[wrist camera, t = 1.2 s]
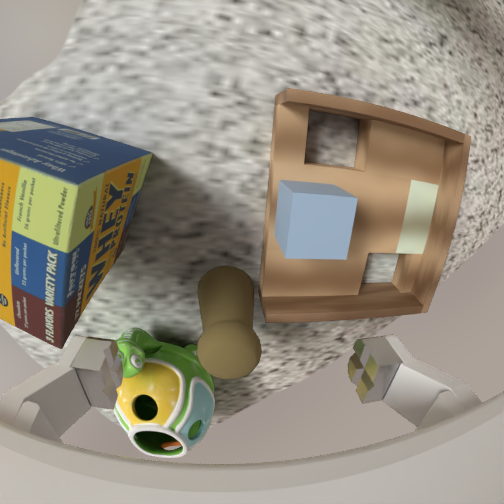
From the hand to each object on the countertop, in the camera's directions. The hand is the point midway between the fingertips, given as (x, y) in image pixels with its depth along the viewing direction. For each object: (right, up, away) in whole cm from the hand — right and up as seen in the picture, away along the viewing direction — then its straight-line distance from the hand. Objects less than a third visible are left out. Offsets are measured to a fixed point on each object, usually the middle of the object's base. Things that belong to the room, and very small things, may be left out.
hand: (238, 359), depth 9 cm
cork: (-2, -1, +22) cm, 22 cm away
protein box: (-17, +11, +16) cm, 26 cm away
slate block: (+5, +7, +17) cm, 19 cm away
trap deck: (+11, +8, +20) cm, 24 cm away
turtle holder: (-11, -10, +26) cm, 30 cm away
